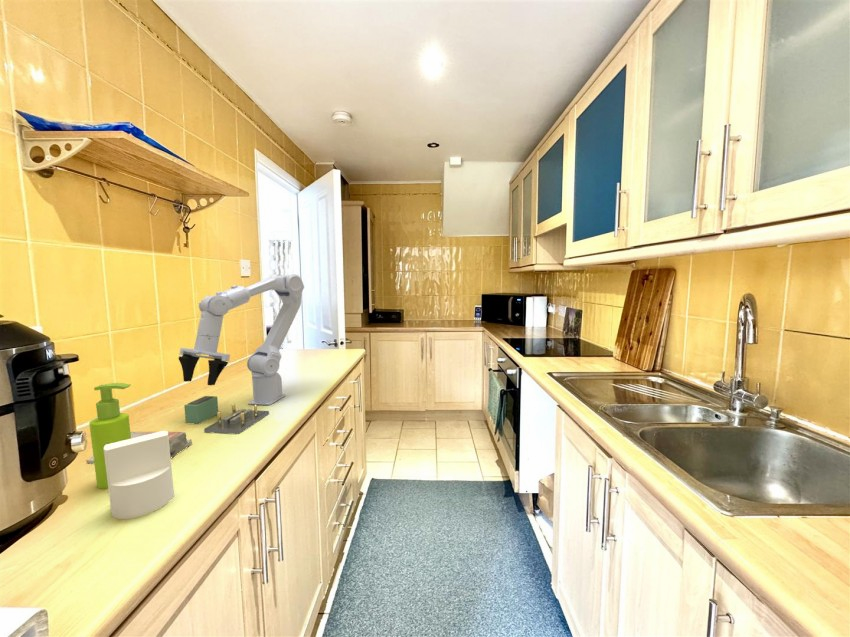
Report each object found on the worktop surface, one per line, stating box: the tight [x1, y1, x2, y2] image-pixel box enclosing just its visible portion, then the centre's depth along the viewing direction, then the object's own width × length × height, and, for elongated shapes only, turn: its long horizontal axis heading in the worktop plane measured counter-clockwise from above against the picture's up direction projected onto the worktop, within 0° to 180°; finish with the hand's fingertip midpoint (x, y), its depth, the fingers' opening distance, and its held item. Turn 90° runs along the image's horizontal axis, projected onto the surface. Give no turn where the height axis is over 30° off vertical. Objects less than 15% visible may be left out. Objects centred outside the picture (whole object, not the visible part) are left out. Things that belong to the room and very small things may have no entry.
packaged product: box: [85, 431, 193, 464], centre depth 84 cm, size 18×5×10 cm
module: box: [184, 395, 219, 425], centre depth 105 cm, size 8×4×6 cm, turn 172°
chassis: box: [203, 403, 270, 435], centre depth 101 cm, size 14×10×4 cm
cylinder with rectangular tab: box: [104, 430, 175, 520], centre depth 65 cm, size 9×9×12 cm
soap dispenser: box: [88, 382, 131, 490], centre depth 72 cm, size 6×7×20 cm
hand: (199, 383), depth 103 cm, fingers open, 7 cm apart
